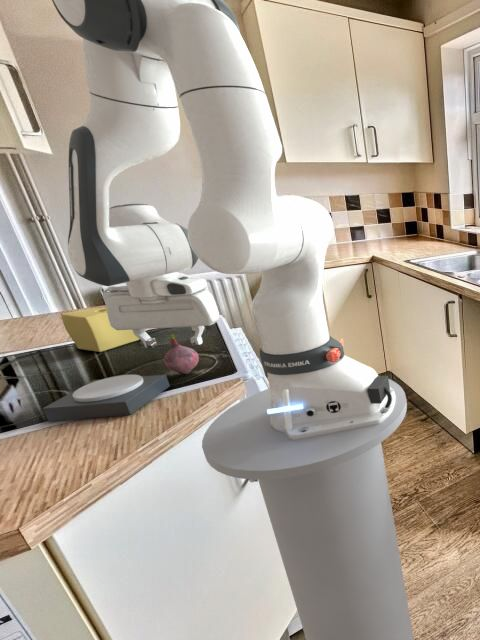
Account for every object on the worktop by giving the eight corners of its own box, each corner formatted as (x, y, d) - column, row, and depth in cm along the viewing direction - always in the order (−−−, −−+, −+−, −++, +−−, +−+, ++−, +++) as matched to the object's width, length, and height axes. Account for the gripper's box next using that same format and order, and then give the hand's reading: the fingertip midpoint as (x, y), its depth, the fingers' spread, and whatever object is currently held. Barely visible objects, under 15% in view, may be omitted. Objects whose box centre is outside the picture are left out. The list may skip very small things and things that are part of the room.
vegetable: (163, 378, 95) (148, 336, 91) (192, 367, 100) (178, 327, 96) (180, 382, 92) (165, 339, 89) (208, 370, 98) (195, 330, 94)
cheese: (118, 336, 123) (105, 303, 119) (142, 340, 119) (130, 306, 116) (74, 349, 114) (58, 314, 110) (99, 353, 110) (84, 317, 107)
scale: (170, 386, 91) (164, 371, 89) (130, 414, 80) (123, 398, 78) (98, 391, 89) (92, 376, 88) (48, 421, 78) (39, 404, 77)
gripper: (88, 290, 84) (112, 354, 89) (198, 286, 87) (215, 348, 92) (111, 283, 90) (133, 343, 95) (213, 279, 93) (229, 337, 98)
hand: (174, 345), depth 94 cm, fingers open, 8 cm apart
